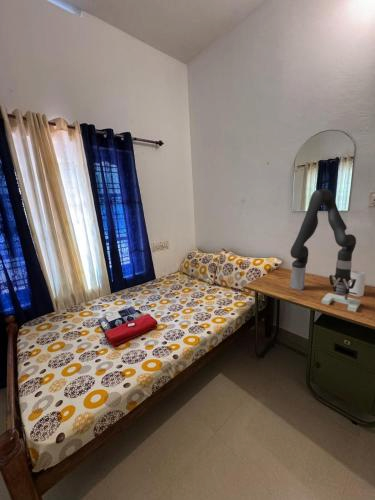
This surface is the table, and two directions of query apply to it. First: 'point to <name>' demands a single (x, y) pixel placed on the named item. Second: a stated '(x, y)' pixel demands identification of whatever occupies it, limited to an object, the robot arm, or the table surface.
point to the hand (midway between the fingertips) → (340, 292)
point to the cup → (358, 282)
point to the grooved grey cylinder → (341, 289)
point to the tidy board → (342, 301)
